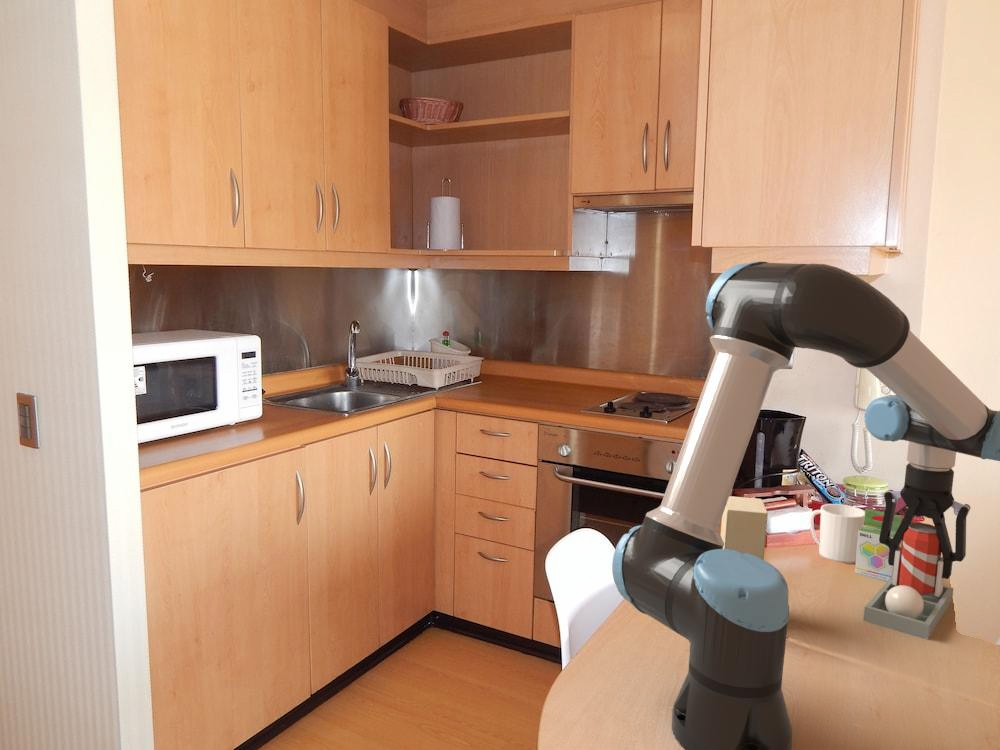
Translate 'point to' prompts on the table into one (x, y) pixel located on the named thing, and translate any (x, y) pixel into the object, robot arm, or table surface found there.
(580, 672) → the table surface
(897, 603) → the egg
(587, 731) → the table surface
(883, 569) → the ink box
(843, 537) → the mug
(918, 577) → the beverage can
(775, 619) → the robot arm
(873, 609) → the tray
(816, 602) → the table surface
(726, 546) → the beige tall block
